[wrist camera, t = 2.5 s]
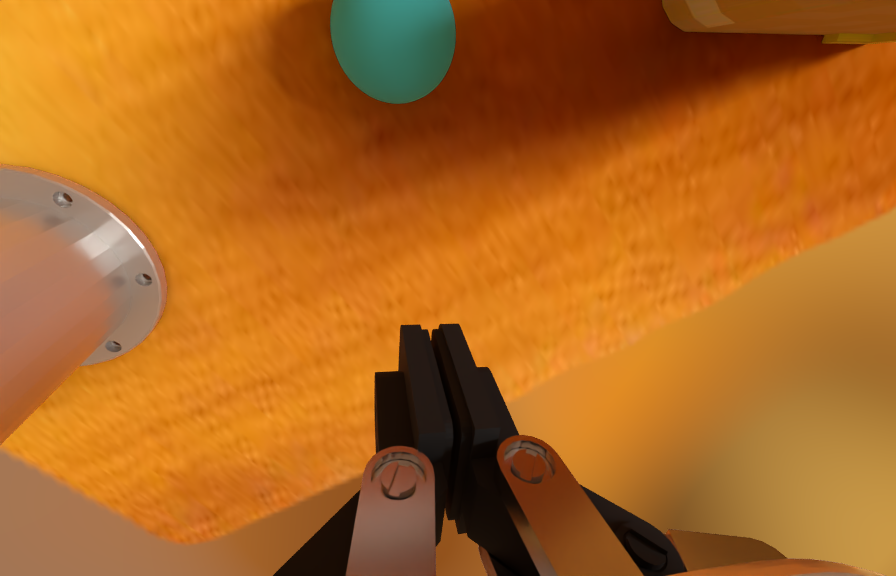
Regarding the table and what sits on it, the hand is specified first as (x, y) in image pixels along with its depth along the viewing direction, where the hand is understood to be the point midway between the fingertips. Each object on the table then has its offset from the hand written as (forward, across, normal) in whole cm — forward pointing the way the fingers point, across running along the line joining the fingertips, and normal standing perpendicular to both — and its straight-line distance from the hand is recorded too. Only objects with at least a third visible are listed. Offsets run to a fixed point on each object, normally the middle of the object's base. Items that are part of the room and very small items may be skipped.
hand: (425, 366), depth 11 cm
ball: (+14, 0, -9) cm, 17 cm away
